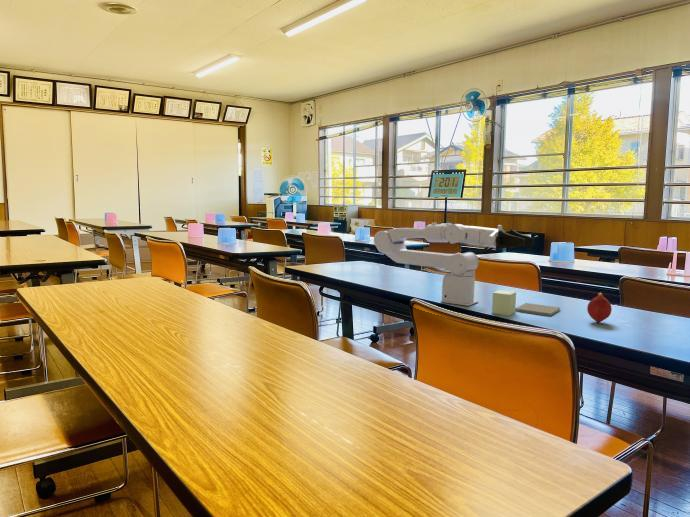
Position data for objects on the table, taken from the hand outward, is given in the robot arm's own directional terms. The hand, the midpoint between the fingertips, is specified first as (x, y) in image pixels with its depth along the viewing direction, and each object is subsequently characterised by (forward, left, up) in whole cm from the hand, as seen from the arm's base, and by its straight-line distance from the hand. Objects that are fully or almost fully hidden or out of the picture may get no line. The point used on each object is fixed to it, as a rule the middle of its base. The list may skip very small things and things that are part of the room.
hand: (528, 242), depth 145 cm
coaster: (+2, +5, -20) cm, 21 cm away
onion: (+19, +1, -21) cm, 28 cm away
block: (-5, -4, -20) cm, 21 cm away
